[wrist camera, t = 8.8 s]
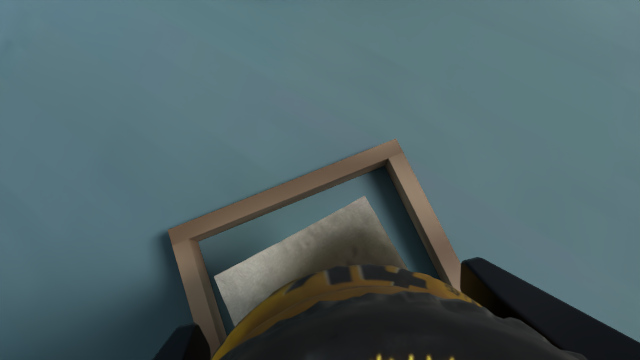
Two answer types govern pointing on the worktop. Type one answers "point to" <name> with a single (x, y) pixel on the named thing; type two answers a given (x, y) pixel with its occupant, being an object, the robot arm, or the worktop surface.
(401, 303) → the condiment
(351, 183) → the worktop surface
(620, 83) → the worktop surface
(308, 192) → the walnut frame
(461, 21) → the worktop surface
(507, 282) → the robot arm
